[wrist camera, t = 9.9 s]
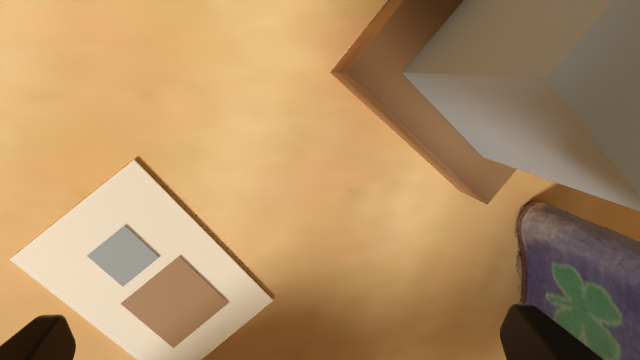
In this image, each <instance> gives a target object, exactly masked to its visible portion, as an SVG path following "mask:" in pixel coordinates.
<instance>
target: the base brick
mask: <svg viewBox="0 0 640 360" xmlns="http://www.w3.org/2000/svg"><path fill="white" fill-rule="evenodd" d="M463 1H464V0H388V1H387V3H386V4H385V5H384V6H383V8H382V9H381V10H380V11H379V13H378V14H377V15H376V16H375V18H374V19H373V20H372V21H371V23H370V24H369V25H368V26H367V28H366V29H365V30H364V31H363V33H362V34H361V35H360V36H359V38H358V39H357V40H356V41H355V43H354V44H353V45H352V46H351V48H350V49H349V50H348V51H347V53H346V54H345V55H344V56H343V58H342V59H341V60H340V61H339V63H338V64H337V65H336V66H335V68H334V69H333V70H332V71H331V74H332V75H334V76H335V77H336V78H337V79H338V80H339V81H340V82H341V83H342V84H343V85H344V86H346V87H347V88H348V89H349V90H350V91H351V92H352V93H353V94H354V95H355V96H356V97H358V98H359V99H360V100H361V101H362V102H363V103H364V104H365V105H366V106H367V107H368V108H370V109H371V110H372V111H373V112H374V113H375V114H376V115H377V116H378V117H379V118H381V119H382V120H383V121H384V122H385V123H386V124H387V125H388V126H389V127H390V128H391V129H393V130H394V131H395V132H396V133H397V134H398V135H399V136H400V137H401V138H402V139H403V140H405V141H406V142H407V143H408V144H409V145H410V146H411V147H412V148H413V149H414V150H415V151H417V152H418V153H419V154H420V155H421V156H422V157H423V158H424V159H425V160H426V161H427V162H429V163H430V164H431V165H432V166H433V167H434V168H435V169H436V170H437V171H438V172H440V173H441V174H442V175H443V176H444V177H445V178H446V179H447V180H448V181H449V182H450V183H452V184H453V185H454V186H455V187H456V188H457V189H458V190H459V191H461V192H463V193H465V194H467V195H469V196H471V197H473V198H475V199H477V200H479V201H481V202H483V203H485V204H488V203H489V202H490V201H491V199H492V198H493V197H494V196H495V195H496V193H497V192H498V191H499V190H500V189H501V187H502V186H503V185H504V184H505V183H506V182H507V180H508V179H509V178H510V177H511V176H512V174H513V173H514V172H515V171H516V170H517V169H515V168H512V167H509V166H506V165H504V164H501V163H498V162H495V161H492V160H489V159H486V158H483V157H482V156H481V155H480V154H479V153H478V152H477V151H476V150H475V149H474V148H473V147H472V145H471V144H470V143H469V142H468V141H467V140H466V139H465V138H464V137H463V136H462V135H461V134H460V133H459V132H458V131H457V130H456V129H455V128H454V127H453V126H452V125H451V124H450V123H449V122H448V120H447V119H446V118H445V117H444V116H443V115H442V114H441V113H440V112H439V111H438V110H437V109H436V108H435V107H434V106H433V105H432V104H431V103H430V102H429V101H428V100H427V99H426V98H425V97H424V95H423V94H422V93H421V92H420V91H419V90H418V89H417V88H416V87H415V86H414V85H413V84H412V83H411V82H410V81H409V80H408V79H407V78H406V77H405V76H404V75H403V74H402V72H403V71H404V70H405V68H406V67H407V66H408V65H409V64H410V63H411V61H412V60H413V59H414V58H415V57H416V56H417V54H418V53H419V52H420V51H421V50H422V49H423V47H424V46H425V45H426V44H427V43H428V42H429V40H430V39H431V38H432V37H433V36H434V35H435V33H436V32H437V31H438V30H439V29H440V28H441V26H442V25H443V24H444V23H445V22H446V20H447V19H448V18H449V17H450V16H451V15H452V13H453V12H454V11H455V10H456V9H457V8H458V6H459V5H460V4H461V3H462V2H463Z"/></svg>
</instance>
